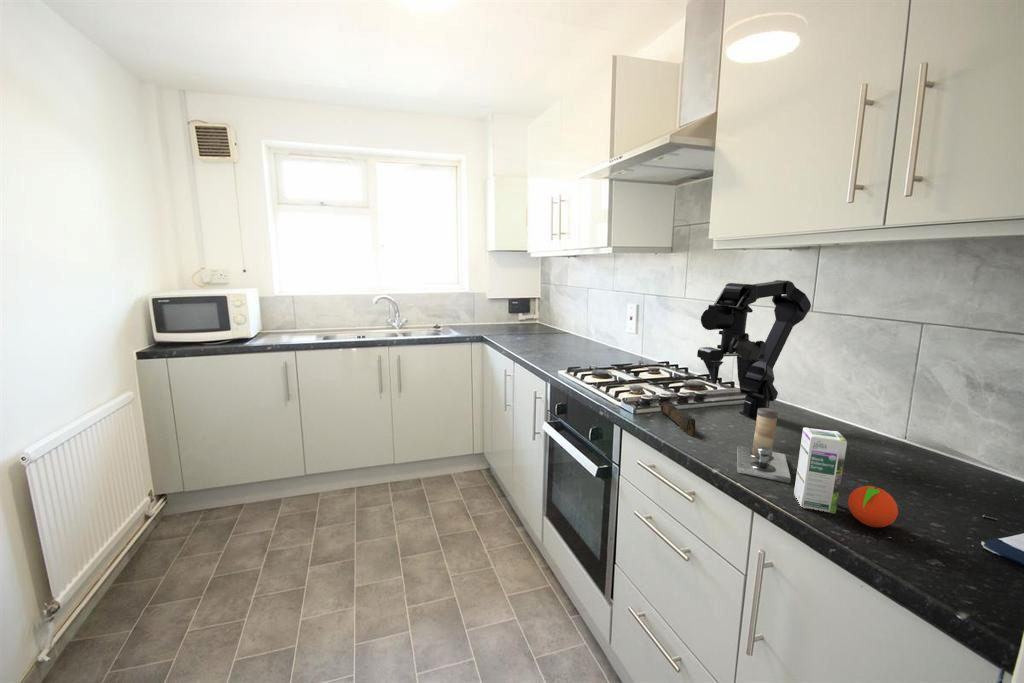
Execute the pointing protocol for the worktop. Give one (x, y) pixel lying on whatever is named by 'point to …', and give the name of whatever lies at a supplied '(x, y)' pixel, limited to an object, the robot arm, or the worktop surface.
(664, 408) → the brown rough bar
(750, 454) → the plate
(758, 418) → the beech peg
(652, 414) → the worktop surface
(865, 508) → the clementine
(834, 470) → the syrup box
